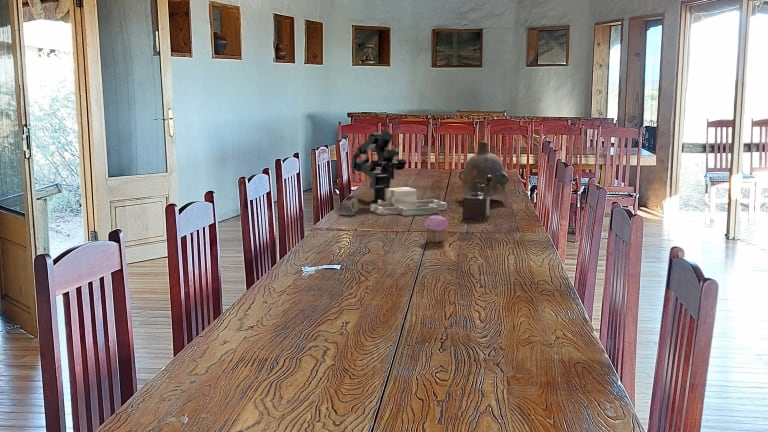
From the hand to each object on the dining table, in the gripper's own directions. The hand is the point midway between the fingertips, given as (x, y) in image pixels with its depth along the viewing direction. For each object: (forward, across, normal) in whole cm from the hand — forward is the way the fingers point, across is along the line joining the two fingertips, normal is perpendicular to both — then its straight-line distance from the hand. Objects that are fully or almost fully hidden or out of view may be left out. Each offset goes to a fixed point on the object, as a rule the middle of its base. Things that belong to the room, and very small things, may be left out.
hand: (392, 178), depth 366 cm
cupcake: (+66, -24, -47) cm, 84 cm away
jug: (+14, +48, +4) cm, 50 cm away
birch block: (+15, 0, +3) cm, 16 cm away
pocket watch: (+20, -30, -2) cm, 36 cm away
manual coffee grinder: (+39, +20, -21) cm, 49 cm away
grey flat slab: (+20, 0, -2) cm, 20 cm away
